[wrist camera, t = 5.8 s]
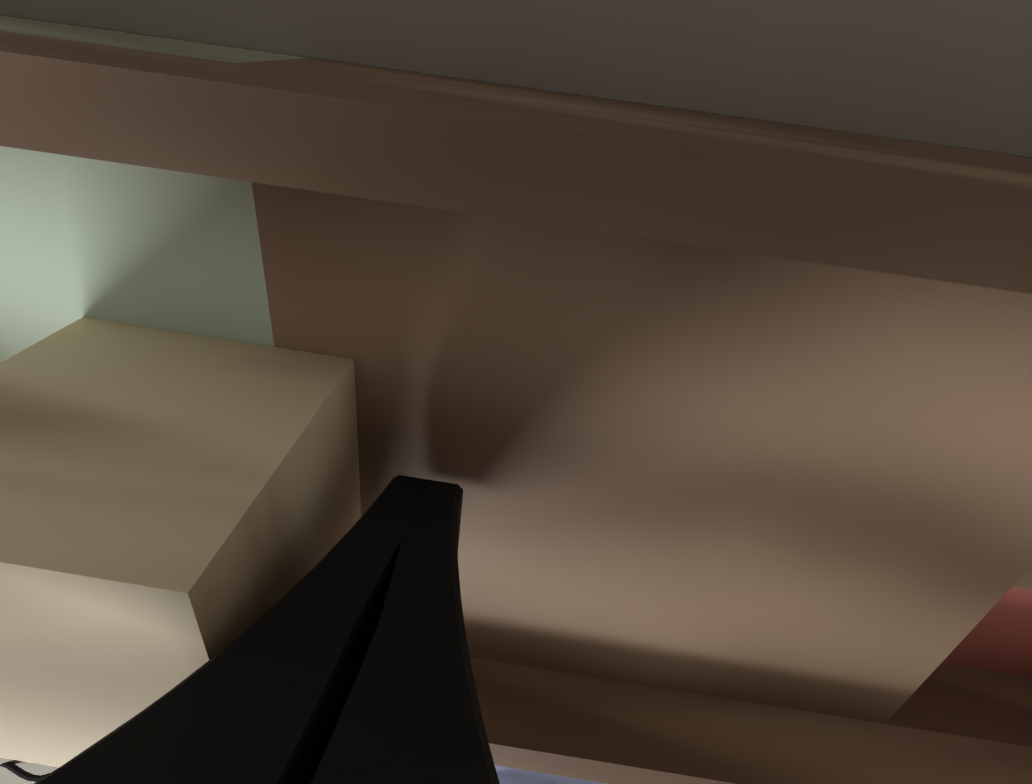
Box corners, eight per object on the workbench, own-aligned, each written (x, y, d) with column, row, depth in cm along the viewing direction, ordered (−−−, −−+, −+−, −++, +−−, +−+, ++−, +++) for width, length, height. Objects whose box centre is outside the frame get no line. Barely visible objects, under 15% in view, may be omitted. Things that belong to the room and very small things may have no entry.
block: (362, 548, 13) (254, 801, 8) (149, 513, 13) (-63, 745, 9) (354, 359, 10) (188, 592, 6) (82, 317, 10) (-274, 516, 6)
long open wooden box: (1062, 692, 17) (1202, 881, 13) (98, 539, 17) (-35, 678, 14) (1608, 237, 9) (2319, 374, 5) (-133, -4, 10) (-574, -30, 6)
